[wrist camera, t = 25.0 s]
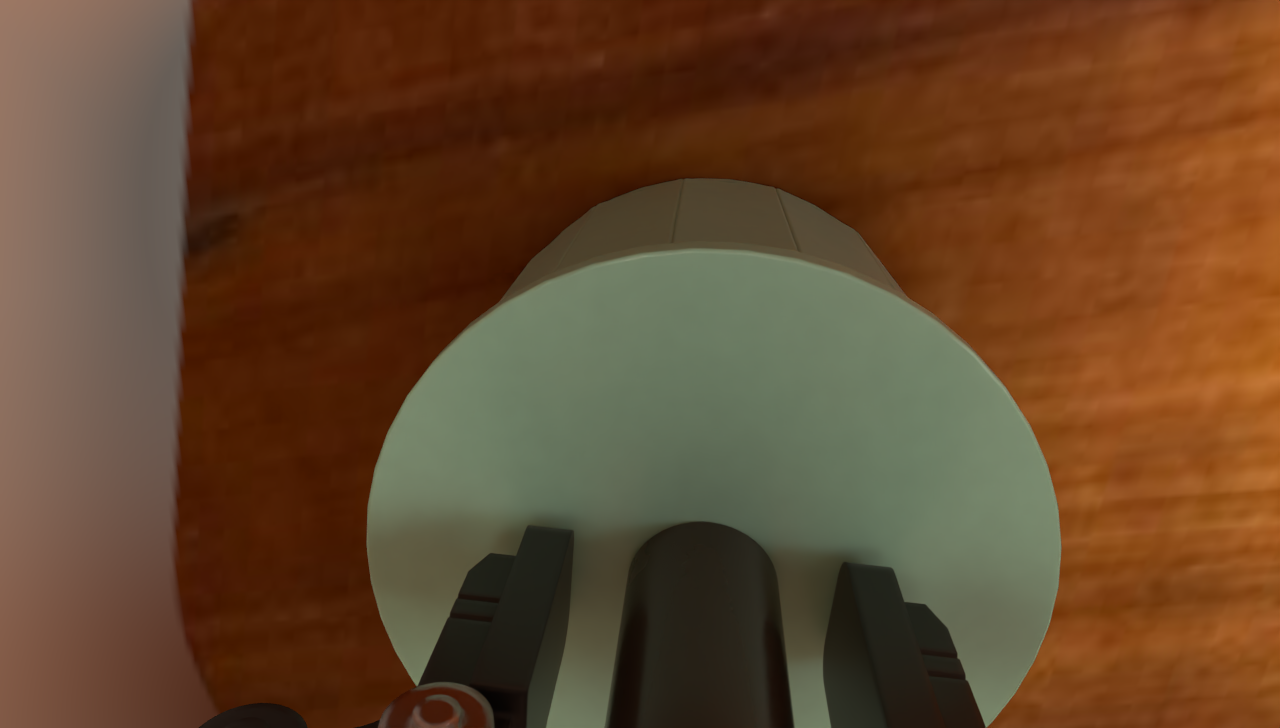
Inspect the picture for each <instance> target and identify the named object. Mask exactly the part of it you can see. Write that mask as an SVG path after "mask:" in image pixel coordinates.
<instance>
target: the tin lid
mask: <svg viewBox="0 0 1280 728" xmlns="http://www.w3.org/2000/svg"><path fill="white" fill-rule="evenodd" d="M528 525H533V526H541V527H550V528H559V529H567V530H573V531H574V550H573V566H572V582H571V598H570V613H569V622H568V630H567V637H566V643H565V648H564V653H563V657H562V661H561V665H560V670H559V674H558V678H557V682H556V687H555V691H554V695H553V699H552V703H551V708H550V712H549V716H548V720H547V725H546V728H831V725H830V719H829V713H828V706H827V700H826V694H825V688H824V682H823V652H824V644H825V638H826V633H827V628H828V623H829V618H830V613H831V608H832V604H833V599H834V594H835V589H836V584H837V579H838V574H839V570H840V567H841V565H842V563H843V562H849V563H858V564H866V565H875V566H884V567H891V568H893V570H894V572H895V575H896V578H897V581H898V584H899V587H900V590H901V593H902V596H903V599H904V602H910V603H919V604H926V605H927V606H928V608H929V609H930V610H931V611H932V612H933V613H934V614H935V615H936V616H937V617H938V618H939V619H940V620H941V621H942V623H943V624H944V625H945V626H946V627H947V628H948V630H949V633H950V635H951V638H952V640H953V643H954V646H955V648H956V651H957V653H958V655H957V658H958V659H960V661H961V664H962V666H963V669H964V672H965V674H966V680H967V681H968V682H969V685H970V687H971V690H972V692H973V695H974V698H975V700H976V703H977V705H978V708H979V711H980V713H981V716H982V718H983V721H984V724H985V726H986V728H987V727H988V726H989V725H990V724H991V723H992V722H993V720H994V719H995V718H996V717H997V715H998V714H999V713H1000V712H1001V710H1002V709H1003V708H1004V707H1005V705H1006V704H1007V703H1008V702H1009V700H1010V699H1011V698H1012V697H1013V695H1014V694H1015V693H1016V691H1017V689H1018V688H1019V686H1020V684H1021V683H1022V681H1023V679H1024V678H1025V676H1026V674H1027V673H1028V671H1029V669H1030V667H1031V666H1032V664H1033V662H1034V661H1035V658H1036V656H1037V654H1038V651H1039V649H1040V646H1041V644H1042V641H1043V639H1044V636H1045V634H1046V632H1047V629H1048V627H1049V624H1050V620H1051V616H1052V611H1053V607H1054V603H1055V599H1056V595H1057V590H1058V586H1059V572H1060V559H1061V534H1060V523H1059V512H1058V504H1057V500H1056V496H1055V492H1054V488H1053V484H1052V480H1051V476H1050V472H1049V469H1048V465H1047V462H1046V460H1045V458H1044V456H1043V453H1042V451H1041V449H1040V446H1039V444H1038V442H1037V440H1036V437H1035V435H1034V433H1033V430H1032V428H1031V426H1030V424H1029V423H1028V421H1027V419H1026V418H1025V416H1024V415H1023V413H1022V412H1021V410H1020V409H1019V407H1018V405H1017V404H1016V402H1015V401H1014V399H1013V398H1012V396H1011V395H1010V393H1009V391H1008V390H1007V388H1006V387H1005V386H1004V384H1003V383H1002V382H1001V381H1000V379H999V378H998V377H997V376H996V375H995V373H994V372H993V371H992V370H991V369H990V368H989V367H988V365H987V364H986V363H985V362H984V361H983V360H982V359H981V358H980V356H979V355H978V354H977V353H976V352H975V351H974V350H973V348H972V347H971V346H970V345H969V344H968V343H967V342H966V341H965V340H964V339H962V338H961V337H960V336H959V335H958V334H956V333H955V332H954V331H953V330H952V329H951V328H949V327H948V326H947V325H946V324H945V323H943V322H942V321H941V320H940V319H939V318H938V317H936V316H935V315H934V314H933V313H932V312H930V311H928V310H927V309H925V308H924V307H922V306H921V305H919V304H917V303H916V302H914V301H913V300H911V299H909V298H908V297H906V296H905V295H903V294H901V293H900V292H898V291H897V290H895V289H893V288H892V287H890V286H888V285H886V284H884V283H881V282H879V281H877V280H875V279H873V278H870V277H868V276H866V275H864V274H862V273H859V272H857V271H855V270H853V269H851V268H848V267H846V266H844V265H840V264H837V263H834V262H830V261H827V260H824V259H820V258H817V257H814V256H810V255H807V254H804V253H800V252H797V251H792V250H786V249H780V248H774V247H768V246H762V245H756V244H750V243H738V242H709V241H688V242H678V243H667V244H656V245H645V246H640V247H635V248H631V249H627V250H622V251H618V252H613V253H609V254H604V255H600V256H596V257H593V258H590V259H587V260H584V261H582V262H579V263H576V264H574V265H571V266H568V267H566V268H563V269H560V270H557V271H555V272H552V273H549V274H547V275H546V276H544V277H542V278H540V279H538V280H536V281H534V282H532V283H531V284H529V285H527V286H525V287H523V288H521V289H519V290H517V291H516V292H514V293H512V294H510V295H508V296H507V297H505V298H504V299H503V300H501V301H500V302H498V303H497V304H496V305H494V306H493V307H492V308H490V309H489V310H487V311H486V312H485V313H483V314H482V315H481V316H479V317H478V318H476V319H475V320H474V321H472V322H471V323H470V324H469V325H468V326H467V327H466V328H465V329H464V330H463V331H462V332H461V333H460V334H459V335H458V336H457V337H456V338H455V339H454V340H453V341H452V342H451V343H450V344H449V345H448V346H446V347H445V348H444V349H443V350H442V351H441V352H440V354H439V355H438V356H437V357H436V358H435V360H434V361H433V362H432V364H431V365H430V366H429V367H428V369H427V370H426V371H425V373H424V374H423V375H422V377H421V378H420V379H419V381H418V382H417V383H416V385H415V386H414V387H413V389H412V390H411V391H410V392H409V394H408V395H407V397H406V399H405V401H404V402H403V404H402V406H401V408H400V410H399V412H398V414H397V415H396V417H395V419H394V421H393V423H392V425H391V426H390V428H389V430H388V432H387V435H386V438H385V441H384V444H383V446H382V449H381V452H380V455H379V458H378V461H377V463H376V466H375V470H374V475H373V480H372V486H371V491H370V496H369V502H368V511H367V553H368V561H369V569H370V577H371V584H372V587H373V591H374V595H375V598H376V602H377V606H378V609H379V613H380V617H381V619H382V621H383V624H384V626H385V628H386V631H387V633H388V635H389V638H390V640H391V642H392V645H393V647H394V649H395V652H396V653H397V655H398V657H399V658H400V660H401V662H402V663H403V665H404V667H405V668H406V670H407V672H408V673H409V675H410V677H411V678H412V680H413V682H414V683H415V684H416V686H418V684H419V681H420V679H421V677H422V675H423V672H424V670H425V668H426V666H427V663H428V661H429V659H430V656H431V654H432V652H433V650H434V647H435V645H436V643H437V641H438V638H439V636H440V634H441V632H442V629H443V627H444V625H445V623H446V620H447V618H448V617H449V616H450V611H451V609H452V607H453V605H454V602H455V600H456V598H458V593H459V591H460V589H461V587H462V584H463V582H464V580H465V578H466V575H467V573H468V571H469V570H470V569H472V568H473V567H474V566H475V565H476V564H478V563H479V562H480V561H481V560H482V559H484V558H485V557H486V556H487V555H488V554H490V553H496V554H504V555H513V556H516V555H517V552H518V549H519V546H520V544H521V541H522V538H523V536H524V533H525V530H526V528H527V526H528Z"/></svg>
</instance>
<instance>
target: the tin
mask: <svg viewBox="0 0 1280 728" xmlns="http://www.w3.org/2000/svg"><path fill="white" fill-rule="evenodd" d="M688 241H709V242H738V243H750V244H756V245H762V246H768V247H774V248H780V249H786V250H792V251H797V252H800V253H804V254H807V255H810V256H814V257H817V258H820V259H824V260H827V261H830V262H834V263H837V264H840V265H844V266H846V267H848V268H851V269H853V270H855V271H857V272H859V273H862V274H864V275H866V276H868V277H870V278H873V279H875V280H877V281H879V282H881V283H884V284H886V285H888V286H890V287H892V288H893V289H895V290H897V291H898V292H900V293H901V294H903V295H905V296H906V294H905V293H904V292H903V291H902V289H901V288H900V287H899V285H898V284H897V283H896V281H895V280H894V279H893V277H892V276H891V275H890V274H889V272H888V271H887V270H886V268H885V267H884V266H883V264H882V263H881V261H880V260H879V259H878V258H877V257H876V255H875V254H874V253H873V251H872V250H871V249H870V247H869V246H868V245H867V244H866V242H865V241H864V240H863V238H862V237H861V236H860V234H859V233H858V232H856V231H855V230H854V229H853V228H851V227H849V226H847V225H845V224H843V223H842V222H840V221H839V220H837V219H836V218H834V217H833V216H831V215H829V214H828V213H826V212H825V211H823V210H822V209H820V208H818V207H817V206H815V205H813V204H811V203H809V202H807V201H805V200H802V199H800V198H798V197H796V196H794V195H792V194H789V193H787V192H785V191H783V190H781V189H778V188H776V189H775V188H774V187H771V186H764V185H761V184H756V183H750V182H744V181H738V180H732V179H711V178H695V179H689V178H686V179H684V180H683V179H678V180H674V181H668V182H663V183H659V184H655V185H651V186H647V187H642V188H639V189H636V190H634V191H631V192H629V193H626V194H623V195H621V196H618V197H615V198H613V199H611V200H609V201H606V202H603V203H600V204H598V205H596V206H595V207H592V208H591V209H590V210H589V211H588V212H586V213H585V214H584V215H583V216H582V217H581V218H579V219H578V220H576V221H575V222H574V223H572V224H571V225H570V226H568V227H567V228H566V229H564V230H563V231H562V232H561V233H560V234H559V235H558V236H557V237H556V238H555V239H554V240H553V241H552V242H551V243H550V244H549V245H548V246H546V247H545V248H544V249H543V250H542V251H540V252H539V253H538V254H537V255H536V256H535V257H533V258H532V259H531V261H530V262H529V263H528V264H527V266H526V267H525V268H524V270H523V271H522V272H521V274H520V275H519V276H518V278H517V279H516V280H515V281H514V283H513V284H512V285H511V287H510V288H509V289H508V291H507V292H506V293H505V295H504V296H503V297H502V299H501V300H503V299H504V298H505V297H507V296H508V295H510V294H512V293H514V292H516V291H517V290H519V289H521V288H523V287H525V286H527V285H529V284H531V283H532V282H534V281H536V280H538V279H540V278H542V277H544V276H546V275H547V274H549V273H552V272H555V271H557V270H560V269H563V268H566V267H568V266H571V265H574V264H576V263H579V262H582V261H584V260H587V259H590V258H593V257H596V256H600V255H604V254H609V253H613V252H618V251H622V250H627V249H631V248H635V247H640V246H645V245H656V244H667V243H678V242H688ZM906 297H907V296H906ZM501 300H500V301H501ZM500 301H499V302H500Z"/></svg>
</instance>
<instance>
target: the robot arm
mask: <svg viewBox="0 0 1280 728" xmlns="http://www.w3.org/2000/svg"><path fill="white" fill-rule="evenodd" d="M573 550H574V531H573V530H567V529H559V528H550V527H541V526H533V525H528V526H527V528H526V530H525V533H524V536H523V538H522V541H521V544H520V546H519V549H518V552H517V555H516V556H513V555H504V554H496V553H490V554H488V555H487V556H486V557H485V558H484V559H482V560H481V561H480V562H479V563H478V564H476V565H475V566H474V567H473V568H472V569H470V570H469V571H468V573H467V575H466V578H465V580H464V582H463V584H462V587H461V589H460V591H459V593H458V598H456V600H455V602H454V605H453V607H452V609H451V611H450V616H449V617H448V618H447V620H446V623H445V625H444V627H443V629H442V632H441V634H440V636H439V638H438V641H437V643H436V645H435V647H434V650H433V652H432V654H431V656H430V659H429V661H428V663H427V666H426V668H425V670H424V672H423V675H422V677H421V679H420V681H419V684H418V686H417V687H415V688H413V689H410V690H408V691H406V692H405V693H403V694H401V695H400V696H399V697H397V698H396V699H395V700H393V701H392V702H391V704H390V705H389V706H388V707H387V708H386V710H385V711H384V713H383V714H382V717H381V719H380V720H378V721H376V722H374V723H371V724H367V725H364V726H361V727H355V728H546V725H547V720H548V716H549V712H550V708H551V703H552V699H553V695H554V691H555V687H556V682H557V678H558V674H559V670H560V665H561V661H562V657H563V653H564V648H565V643H566V637H567V630H568V622H569V613H570V598H571V582H572V566H573ZM957 655H958V653H957V651H956V648H955V646H954V643H953V640H952V638H951V635H950V633H949V630H948V628H947V627H946V626H945V625H944V624H943V623H942V621H941V620H940V619H939V618H938V617H937V616H936V615H935V614H934V613H933V612H932V611H931V610H930V609H929V608H928V606H927V605H926V604H919V603H910V602H904V599H903V596H902V593H901V590H900V587H899V584H898V581H897V578H896V575H895V572H894V570H893V568H891V567H884V566H875V565H866V564H858V563H849V562H843V563H842V565H841V567H840V570H839V574H838V579H837V584H836V589H835V594H834V599H833V604H832V608H831V613H830V618H829V623H828V628H827V633H826V638H825V644H824V652H823V682H824V688H825V694H826V700H827V706H828V713H829V719H830V725H831V728H986V726H985V724H984V721H983V718H982V716H981V713H980V711H979V708H978V705H977V703H976V700H975V698H974V695H973V692H972V690H971V687H970V685H969V682H968V681H967V680H966V674H965V672H964V669H963V666H962V664H961V661H960V659H958V658H957ZM199 728H307V725H306V722H305V721H304V720H303V718H302V717H301V716H300V715H299V714H298V713H297V712H295V711H294V710H292V709H290V708H288V707H285V706H282V705H277V704H271V703H257V704H249V705H244V706H239V707H236V708H233V709H230V710H228V711H225V712H223V713H221V714H219V715H217V716H215V717H213V718H212V719H210V720H208V721H207V722H206V723H204V724H203V725H202V726H200V727H199Z"/></svg>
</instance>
